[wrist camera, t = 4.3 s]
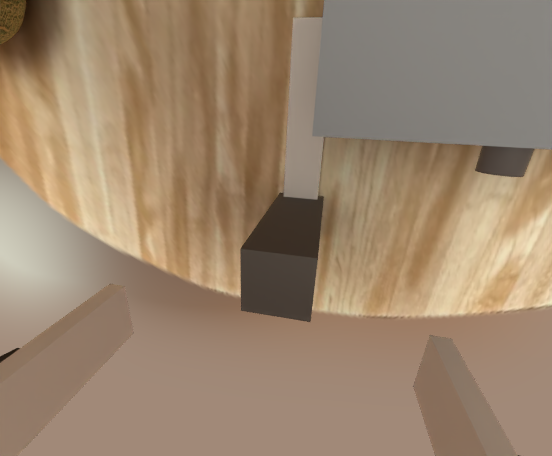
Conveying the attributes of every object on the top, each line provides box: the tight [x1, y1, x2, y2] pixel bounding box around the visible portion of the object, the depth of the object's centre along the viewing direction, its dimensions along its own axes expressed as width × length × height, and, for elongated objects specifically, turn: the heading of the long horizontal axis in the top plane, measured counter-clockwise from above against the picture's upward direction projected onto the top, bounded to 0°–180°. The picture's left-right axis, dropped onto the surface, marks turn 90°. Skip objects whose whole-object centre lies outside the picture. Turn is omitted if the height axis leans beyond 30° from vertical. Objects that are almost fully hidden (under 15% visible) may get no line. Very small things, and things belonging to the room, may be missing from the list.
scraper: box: [241, 17, 324, 322], centre depth 17 cm, size 4×17×12 cm, turn 177°
